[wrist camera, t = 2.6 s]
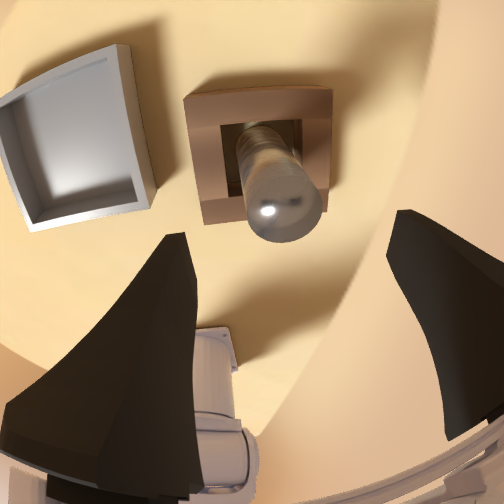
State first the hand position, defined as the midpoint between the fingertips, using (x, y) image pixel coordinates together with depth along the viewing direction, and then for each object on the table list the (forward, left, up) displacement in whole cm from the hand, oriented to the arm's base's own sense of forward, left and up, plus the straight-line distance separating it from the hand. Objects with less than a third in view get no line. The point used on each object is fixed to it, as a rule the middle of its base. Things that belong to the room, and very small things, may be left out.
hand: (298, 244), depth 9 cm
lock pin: (0, 0, -10) cm, 10 cm away
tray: (+3, +12, -10) cm, 16 cm away
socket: (0, 0, -10) cm, 10 cm away
